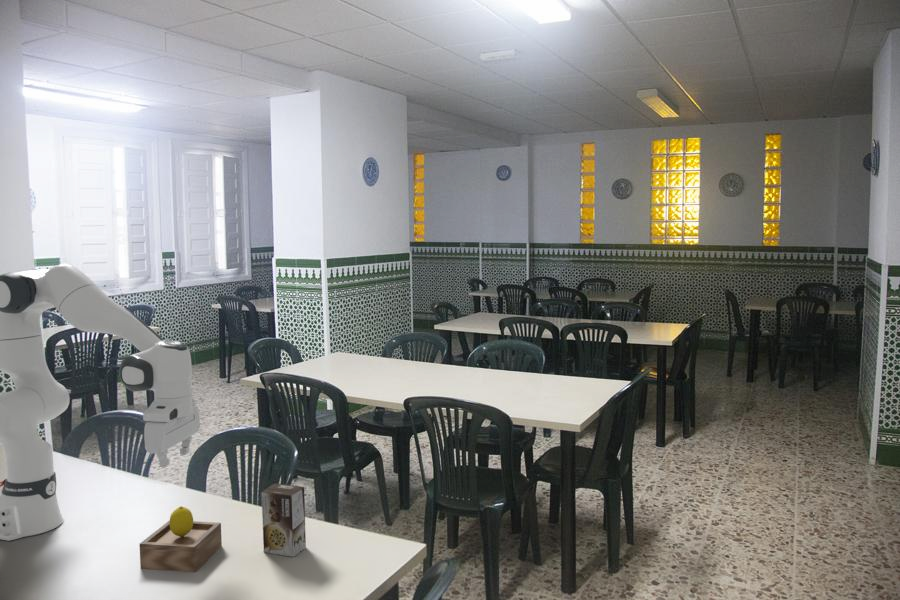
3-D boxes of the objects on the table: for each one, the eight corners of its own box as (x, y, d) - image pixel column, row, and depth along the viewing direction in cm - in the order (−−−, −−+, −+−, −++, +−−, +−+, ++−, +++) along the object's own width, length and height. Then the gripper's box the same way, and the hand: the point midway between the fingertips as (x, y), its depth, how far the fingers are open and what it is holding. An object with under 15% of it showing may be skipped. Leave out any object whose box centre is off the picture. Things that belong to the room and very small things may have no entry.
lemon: (185, 543, 170) (184, 511, 169) (165, 541, 171) (164, 509, 170) (198, 533, 175) (197, 503, 175) (178, 531, 177) (177, 501, 176)
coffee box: (306, 546, 179) (305, 486, 178) (293, 557, 173) (292, 495, 172) (276, 541, 182) (275, 482, 181) (262, 552, 176) (260, 490, 175)
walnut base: (140, 568, 168) (139, 543, 167) (170, 542, 181) (169, 520, 181) (195, 571, 166) (194, 547, 165) (221, 545, 180) (220, 522, 179)
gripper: (183, 395, 183) (184, 446, 185) (138, 415, 163) (140, 472, 164) (205, 396, 182) (206, 447, 184) (163, 417, 162) (165, 474, 164)
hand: (175, 459), depth 174 cm, fingers open, 8 cm apart
